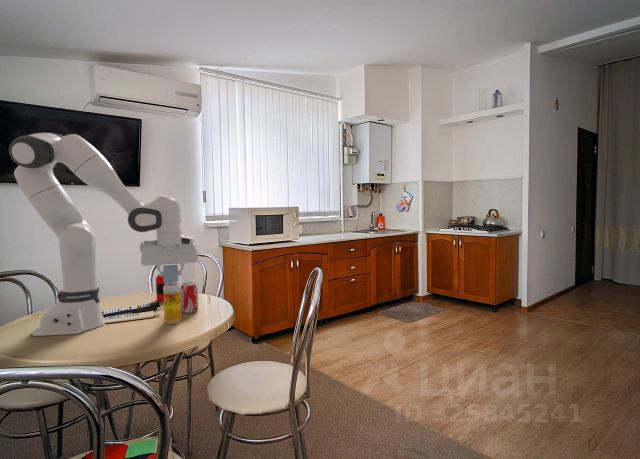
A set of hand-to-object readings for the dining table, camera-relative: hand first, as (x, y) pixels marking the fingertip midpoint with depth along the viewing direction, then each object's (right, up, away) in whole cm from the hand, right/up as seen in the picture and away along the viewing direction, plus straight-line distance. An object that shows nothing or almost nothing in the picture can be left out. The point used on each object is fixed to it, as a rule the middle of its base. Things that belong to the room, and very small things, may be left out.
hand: (171, 275), depth 145 cm
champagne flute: (-2, -17, +25) cm, 30 cm away
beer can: (0, -18, +1) cm, 18 cm away
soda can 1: (-16, -16, +35) cm, 42 cm away
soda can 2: (+2, -17, +15) cm, 23 cm away
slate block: (0, -2, 0) cm, 2 cm away
